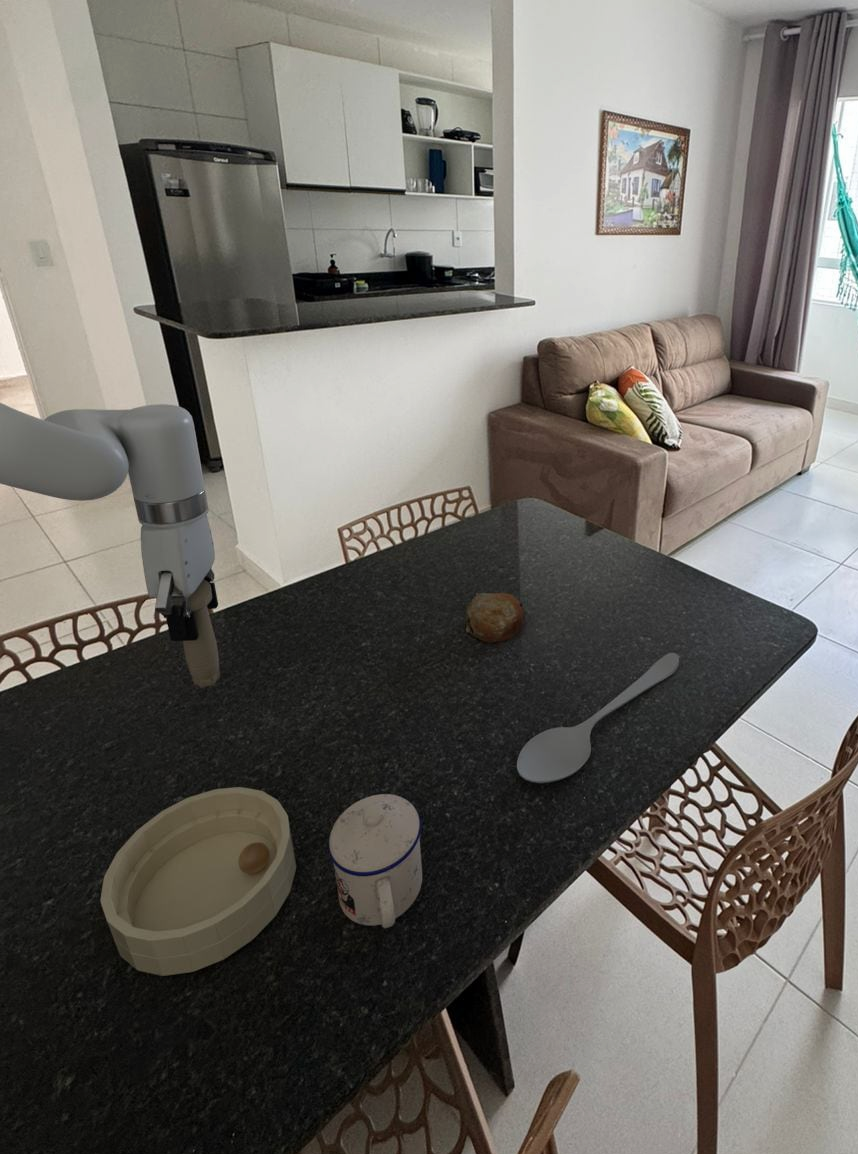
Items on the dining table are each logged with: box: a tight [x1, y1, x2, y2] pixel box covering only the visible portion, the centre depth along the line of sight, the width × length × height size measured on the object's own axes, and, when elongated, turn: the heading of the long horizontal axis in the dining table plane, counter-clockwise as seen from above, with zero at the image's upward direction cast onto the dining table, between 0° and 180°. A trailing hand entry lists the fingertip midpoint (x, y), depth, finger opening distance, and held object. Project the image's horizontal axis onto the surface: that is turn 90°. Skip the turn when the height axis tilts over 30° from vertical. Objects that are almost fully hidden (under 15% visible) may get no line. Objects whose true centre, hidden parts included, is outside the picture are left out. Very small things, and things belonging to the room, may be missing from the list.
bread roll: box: [465, 591, 526, 644], centre depth 114 cm, size 10×10×8 cm
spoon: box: [516, 652, 680, 784], centre depth 96 cm, size 35×8×3 cm, turn 140°
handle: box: [172, 579, 221, 689], centre depth 91 cm, size 5×6×15 cm
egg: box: [238, 842, 270, 874], centre depth 72 cm, size 3×3×3 cm
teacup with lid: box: [327, 793, 423, 929], centre depth 68 cm, size 12×9×12 cm
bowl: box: [99, 786, 297, 977], centre depth 69 cm, size 17×17×6 cm
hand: (195, 622), depth 90 cm, fingers closed on handle, 6 cm apart
